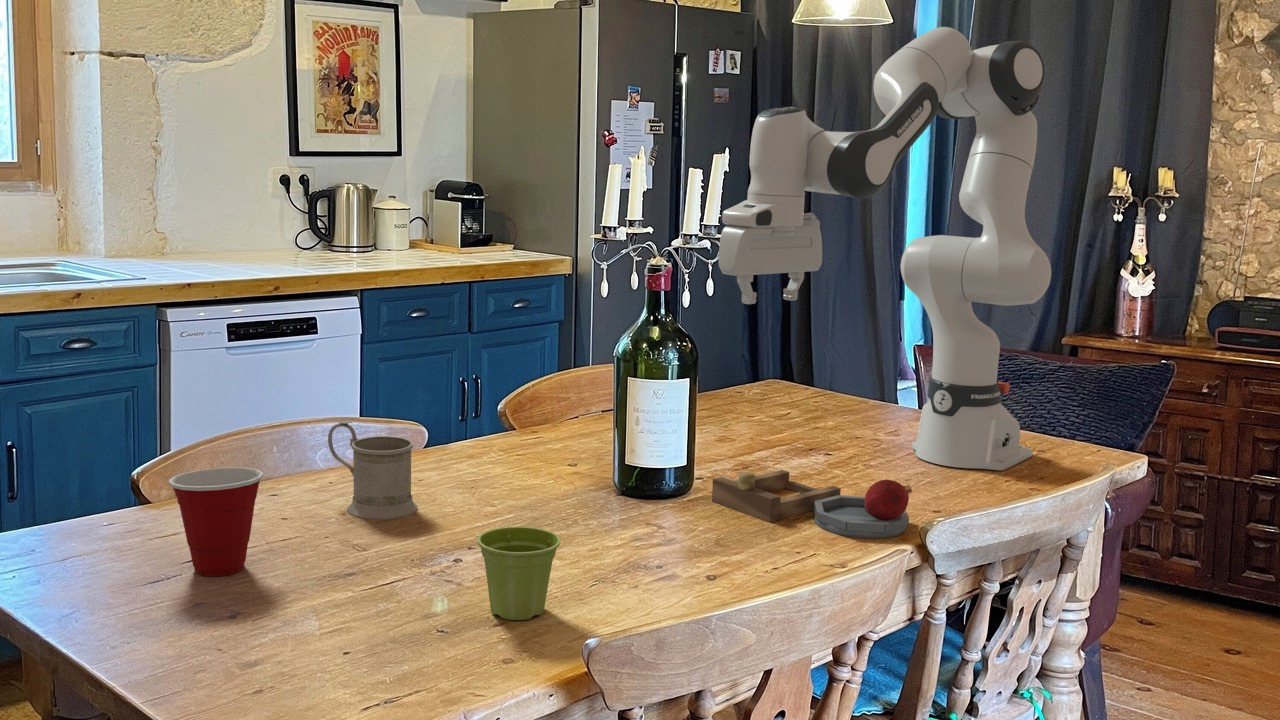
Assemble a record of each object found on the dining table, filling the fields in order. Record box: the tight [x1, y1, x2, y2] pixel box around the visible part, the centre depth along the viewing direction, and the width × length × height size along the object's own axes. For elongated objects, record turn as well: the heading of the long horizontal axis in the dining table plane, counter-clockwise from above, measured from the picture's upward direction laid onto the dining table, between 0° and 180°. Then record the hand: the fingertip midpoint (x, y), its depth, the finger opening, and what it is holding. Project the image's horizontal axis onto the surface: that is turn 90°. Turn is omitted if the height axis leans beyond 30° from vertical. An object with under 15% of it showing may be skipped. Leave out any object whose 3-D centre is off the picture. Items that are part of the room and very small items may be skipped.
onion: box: [864, 479, 913, 521], centre depth 173 cm, size 6×6×8 cm
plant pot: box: [476, 526, 561, 621], centre depth 139 cm, size 9×9×9 cm
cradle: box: [711, 469, 842, 523], centre depth 184 cm, size 16×12×6 cm
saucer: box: [813, 494, 910, 540], centre depth 176 cm, size 13×13×2 cm
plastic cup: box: [168, 467, 264, 577], centre depth 148 cm, size 11×11×12 cm
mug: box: [327, 419, 418, 521], centre depth 174 cm, size 14×10×12 cm
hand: (769, 301), depth 191 cm, fingers open, 8 cm apart
